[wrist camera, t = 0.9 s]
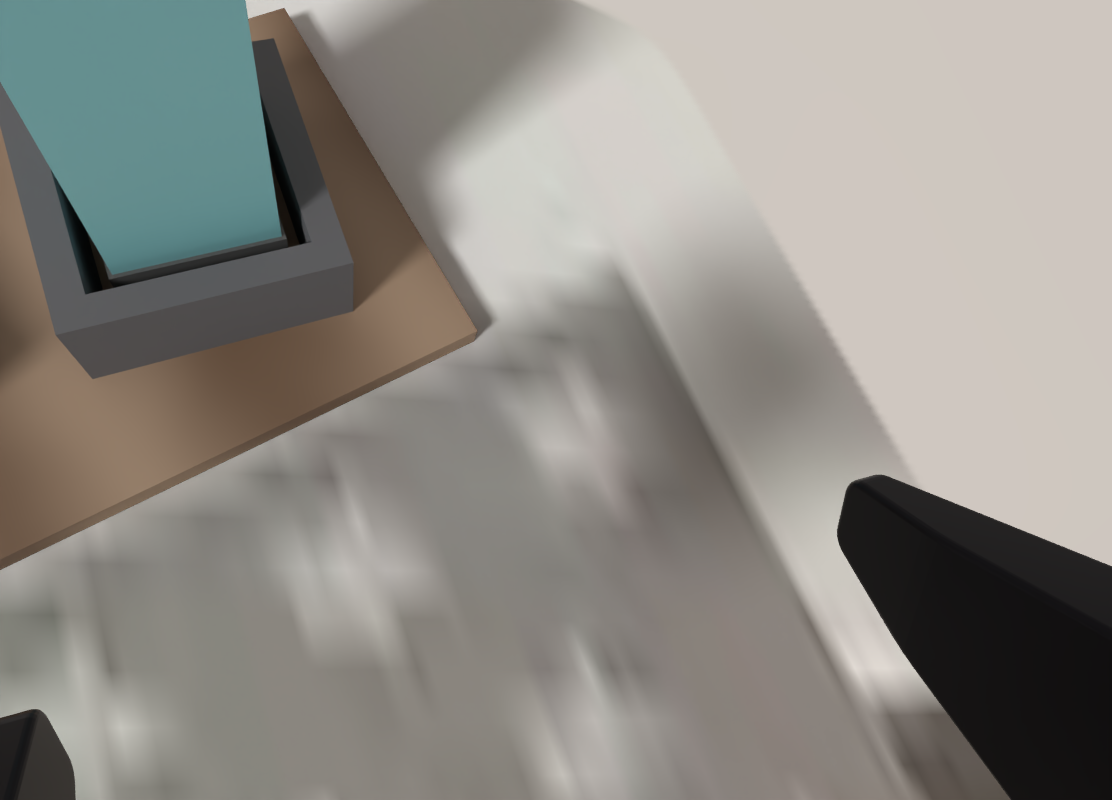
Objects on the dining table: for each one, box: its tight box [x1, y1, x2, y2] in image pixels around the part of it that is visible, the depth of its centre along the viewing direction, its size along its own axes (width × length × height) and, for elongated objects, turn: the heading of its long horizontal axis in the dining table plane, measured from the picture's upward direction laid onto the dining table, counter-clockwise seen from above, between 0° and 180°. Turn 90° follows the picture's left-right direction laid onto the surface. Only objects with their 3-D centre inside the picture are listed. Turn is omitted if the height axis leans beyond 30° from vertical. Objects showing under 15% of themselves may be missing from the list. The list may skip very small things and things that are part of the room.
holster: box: [0, 38, 354, 379], centre depth 23 cm, size 7×7×3 cm
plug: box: [0, 0, 288, 288], centre depth 18 cm, size 4×4×12 cm
